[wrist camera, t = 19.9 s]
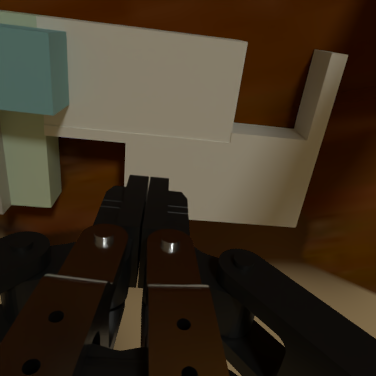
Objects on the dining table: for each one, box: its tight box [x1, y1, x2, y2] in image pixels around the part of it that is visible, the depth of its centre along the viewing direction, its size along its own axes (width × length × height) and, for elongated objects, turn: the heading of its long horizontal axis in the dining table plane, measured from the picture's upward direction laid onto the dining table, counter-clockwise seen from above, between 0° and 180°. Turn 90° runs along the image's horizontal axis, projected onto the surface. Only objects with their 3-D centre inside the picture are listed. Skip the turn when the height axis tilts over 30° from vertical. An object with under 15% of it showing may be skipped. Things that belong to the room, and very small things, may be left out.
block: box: [0, 23, 69, 116], centre depth 27 cm, size 6×6×4 cm
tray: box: [0, 10, 348, 227], centre depth 33 cm, size 18×31×6 cm, turn 83°
